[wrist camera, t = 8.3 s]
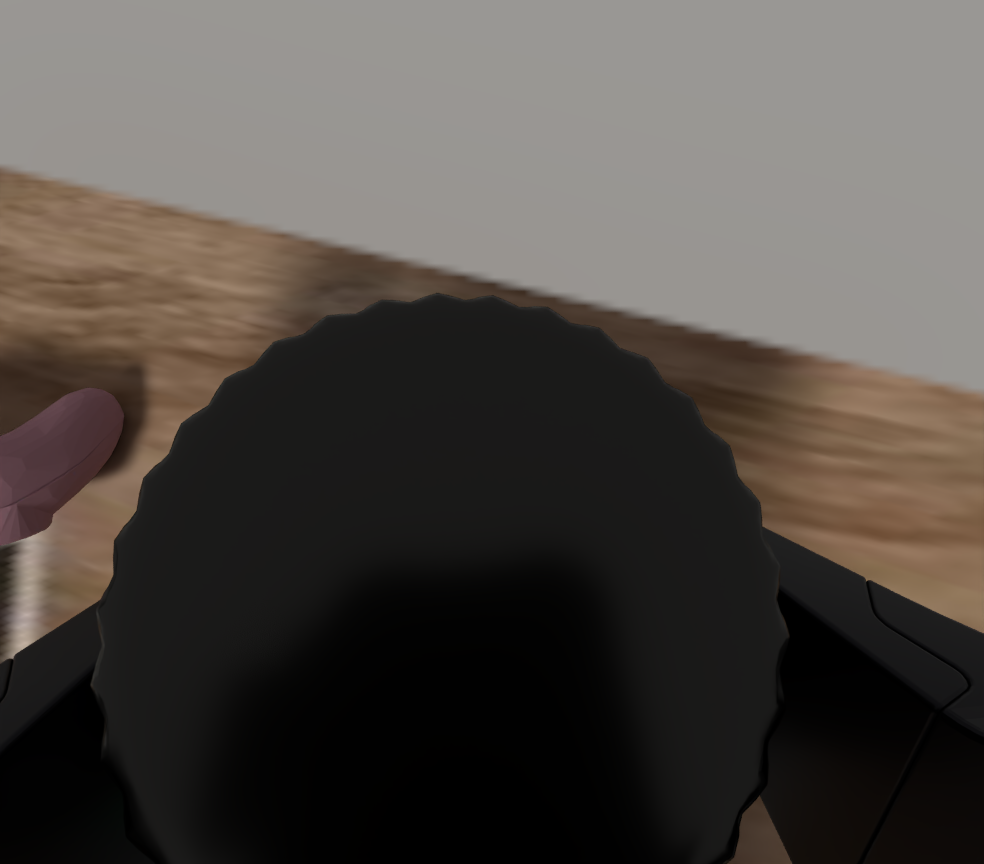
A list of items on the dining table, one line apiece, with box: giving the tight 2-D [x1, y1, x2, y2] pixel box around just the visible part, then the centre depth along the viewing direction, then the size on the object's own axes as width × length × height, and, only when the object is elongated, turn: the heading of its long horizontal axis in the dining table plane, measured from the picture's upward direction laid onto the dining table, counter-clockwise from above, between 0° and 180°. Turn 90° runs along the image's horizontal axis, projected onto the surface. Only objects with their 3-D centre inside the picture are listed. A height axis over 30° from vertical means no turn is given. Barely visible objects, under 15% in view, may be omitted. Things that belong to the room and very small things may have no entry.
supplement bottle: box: [91, 293, 790, 864], centre depth 9 cm, size 7×7×12 cm
